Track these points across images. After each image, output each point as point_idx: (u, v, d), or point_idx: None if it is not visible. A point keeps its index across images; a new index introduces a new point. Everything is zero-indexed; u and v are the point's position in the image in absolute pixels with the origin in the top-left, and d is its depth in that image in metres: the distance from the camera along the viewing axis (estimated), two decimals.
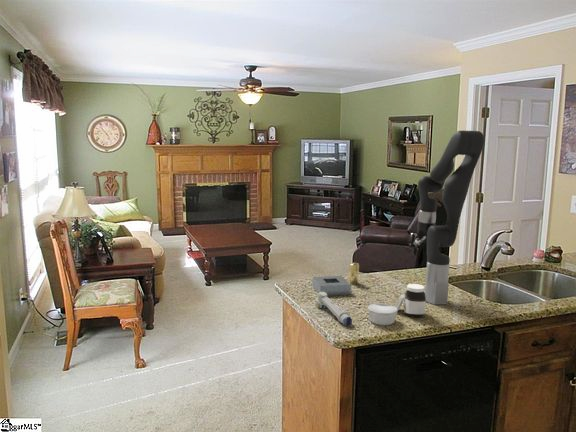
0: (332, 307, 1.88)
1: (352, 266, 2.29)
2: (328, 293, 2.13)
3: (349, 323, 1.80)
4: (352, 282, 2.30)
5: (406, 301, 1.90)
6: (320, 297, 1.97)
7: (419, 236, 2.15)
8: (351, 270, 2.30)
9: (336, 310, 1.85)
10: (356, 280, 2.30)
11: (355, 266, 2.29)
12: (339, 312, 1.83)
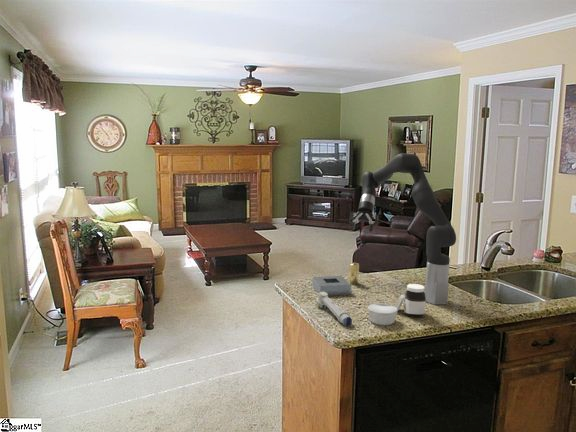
0: (332, 307, 1.88)
1: (352, 266, 2.29)
2: (328, 293, 2.13)
3: (349, 323, 1.80)
4: (352, 282, 2.30)
5: (406, 301, 1.90)
6: (321, 297, 1.97)
7: (357, 214, 2.44)
8: (351, 270, 2.30)
9: (336, 310, 1.85)
10: (356, 280, 2.30)
11: (355, 266, 2.29)
12: (339, 312, 1.83)
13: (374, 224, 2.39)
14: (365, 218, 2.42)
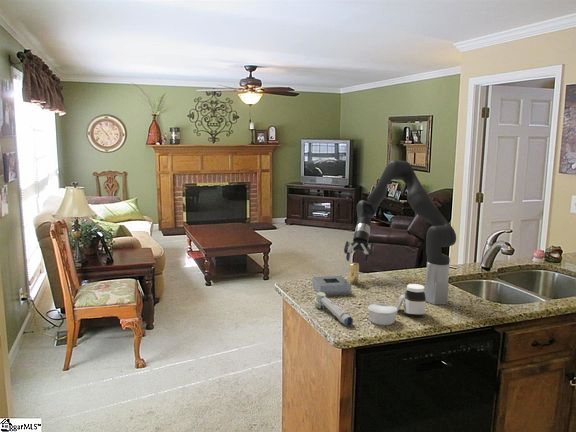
0: (332, 307, 1.87)
1: (352, 266, 2.29)
2: (328, 293, 2.13)
3: (350, 323, 1.80)
4: (352, 282, 2.30)
5: (406, 301, 1.90)
6: (319, 297, 1.96)
7: (352, 244, 2.41)
8: (351, 270, 2.30)
9: (336, 310, 1.85)
10: (356, 280, 2.30)
11: (355, 266, 2.29)
12: (340, 312, 1.83)
13: (369, 254, 2.36)
14: (360, 248, 2.38)
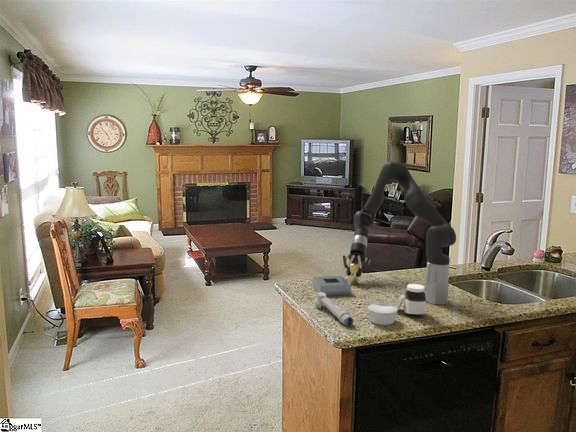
0: (332, 307, 1.87)
1: (352, 266, 2.29)
2: (328, 293, 2.13)
3: (350, 323, 1.80)
4: (352, 282, 2.30)
5: (406, 301, 1.90)
6: (319, 297, 1.96)
7: (349, 257, 2.35)
8: (351, 270, 2.30)
9: (337, 310, 1.84)
10: (356, 280, 2.30)
11: (355, 266, 2.29)
12: (340, 312, 1.83)
13: (362, 268, 2.30)
14: (356, 260, 2.33)
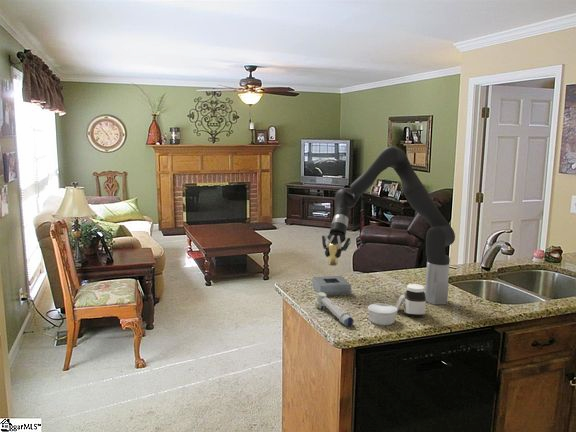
0: (332, 308, 1.87)
1: (331, 246, 2.17)
2: (328, 293, 2.13)
3: (350, 323, 1.79)
4: (331, 263, 2.18)
5: (406, 301, 1.90)
6: (320, 298, 1.96)
7: (328, 237, 2.23)
8: (330, 250, 2.17)
9: (337, 311, 1.84)
10: (335, 261, 2.18)
11: (334, 246, 2.16)
12: (340, 313, 1.82)
13: (342, 249, 2.18)
14: (335, 240, 2.21)
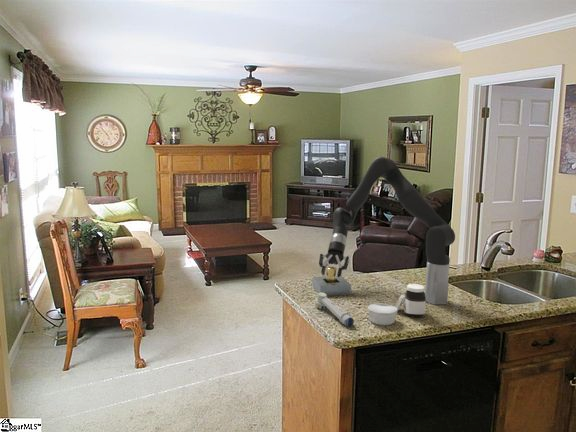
0: (333, 308, 1.87)
1: (329, 270, 2.18)
2: (328, 293, 2.13)
3: (351, 324, 1.79)
4: None
5: (406, 301, 1.90)
6: (320, 298, 1.96)
7: (327, 256, 2.24)
8: (328, 274, 2.18)
9: (337, 311, 1.84)
10: None
11: (332, 270, 2.17)
12: (340, 313, 1.82)
13: (343, 268, 2.18)
14: (334, 260, 2.21)
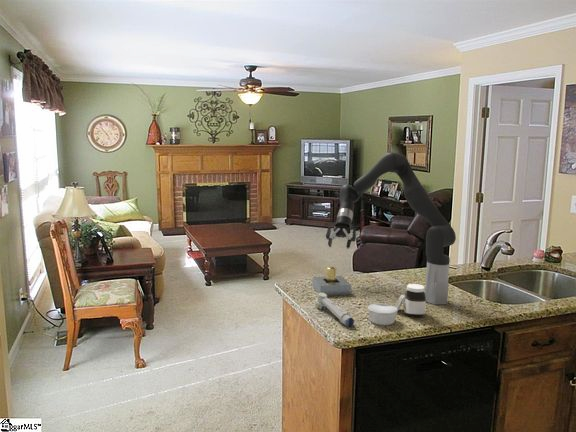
0: (333, 308, 1.87)
1: (329, 270, 2.18)
2: (328, 293, 2.13)
3: (351, 324, 1.79)
4: None
5: (406, 301, 1.90)
6: (320, 298, 1.96)
7: (334, 229, 2.34)
8: (328, 274, 2.18)
9: (337, 311, 1.84)
10: None
11: (332, 270, 2.17)
12: (341, 313, 1.82)
13: (351, 240, 2.29)
14: (342, 233, 2.32)
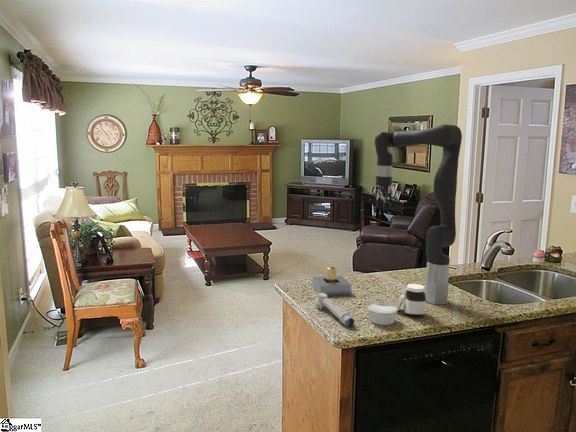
0: (333, 308, 1.86)
1: (329, 270, 2.18)
2: (328, 293, 2.13)
3: (351, 324, 1.79)
4: None
5: (406, 301, 1.90)
6: (320, 298, 1.96)
7: None
8: (328, 274, 2.18)
9: (338, 311, 1.84)
10: None
11: (332, 270, 2.17)
12: (341, 313, 1.82)
13: (386, 202, 2.20)
14: None
